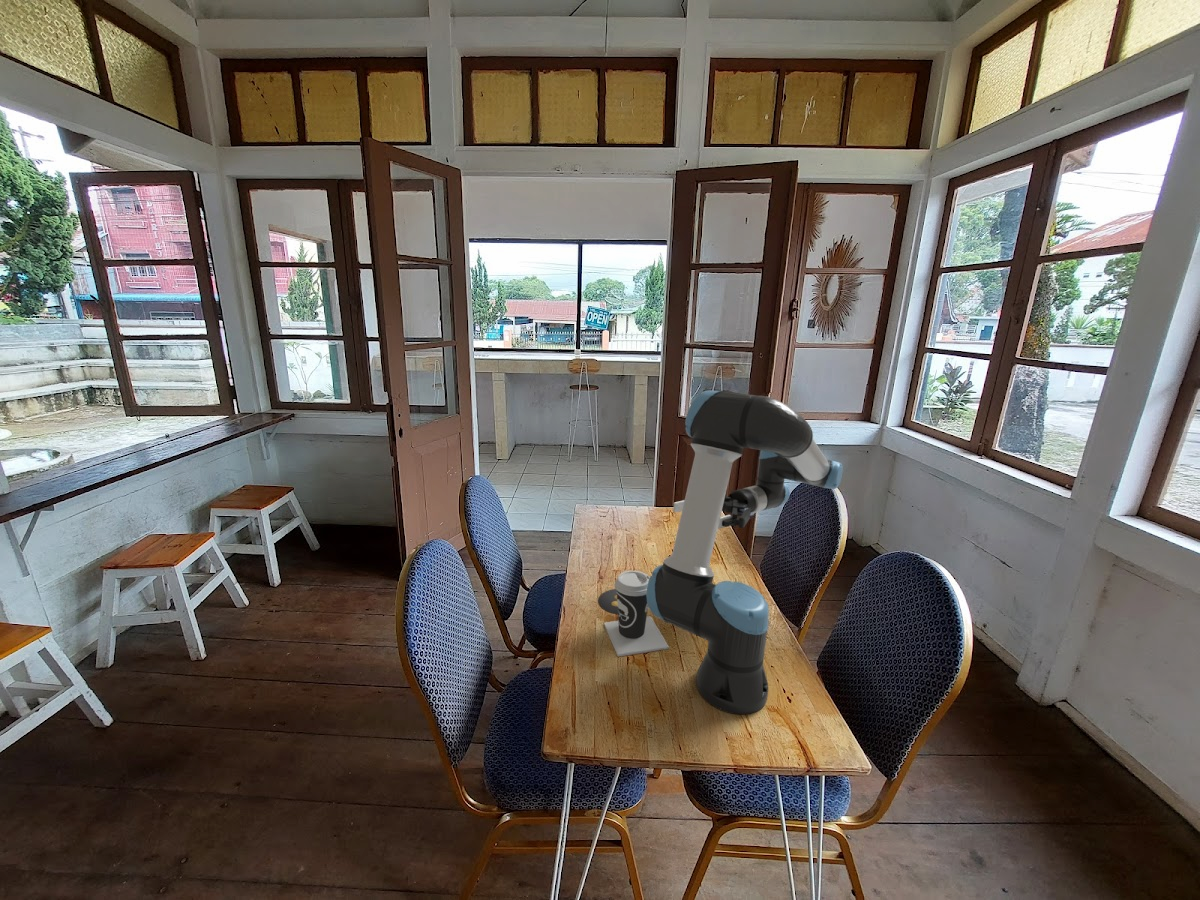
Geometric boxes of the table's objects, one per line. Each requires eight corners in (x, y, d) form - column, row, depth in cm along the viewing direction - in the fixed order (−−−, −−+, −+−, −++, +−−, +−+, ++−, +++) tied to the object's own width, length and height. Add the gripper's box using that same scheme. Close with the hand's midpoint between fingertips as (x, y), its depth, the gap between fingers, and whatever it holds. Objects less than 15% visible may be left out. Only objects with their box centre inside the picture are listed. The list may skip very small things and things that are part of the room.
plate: (668, 648, 122) (668, 646, 121) (617, 656, 118) (617, 654, 118) (650, 618, 134) (650, 616, 134) (603, 624, 131) (604, 622, 130)
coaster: (650, 611, 137) (650, 611, 137) (604, 617, 134) (604, 617, 134) (635, 586, 149) (635, 586, 149) (593, 591, 146) (593, 591, 146)
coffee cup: (647, 645, 122) (650, 590, 118) (609, 639, 124) (611, 585, 120) (652, 622, 131) (655, 571, 127) (616, 617, 133) (618, 566, 129)
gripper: (782, 529, 132) (727, 547, 120) (712, 500, 151) (659, 513, 140) (786, 502, 130) (730, 518, 118) (714, 476, 150) (661, 488, 138)
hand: (692, 516), depth 129 cm, fingers open, 13 cm apart
